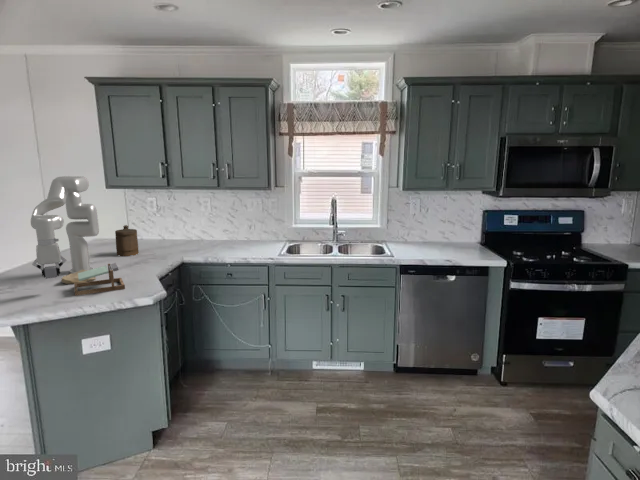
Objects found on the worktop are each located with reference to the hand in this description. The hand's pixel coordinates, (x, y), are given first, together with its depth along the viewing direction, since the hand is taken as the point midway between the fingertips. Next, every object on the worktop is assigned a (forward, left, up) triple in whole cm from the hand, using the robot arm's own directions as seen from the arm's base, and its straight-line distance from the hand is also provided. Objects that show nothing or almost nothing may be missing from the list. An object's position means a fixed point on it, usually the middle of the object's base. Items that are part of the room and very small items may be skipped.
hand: (51, 275), depth 207 cm
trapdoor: (+3, +21, -1) cm, 22 cm away
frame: (+3, +21, -9) cm, 23 cm away
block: (0, 0, -1) cm, 1 cm away
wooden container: (-80, +45, -10) cm, 92 cm away
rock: (-18, +14, -10) cm, 24 cm away
